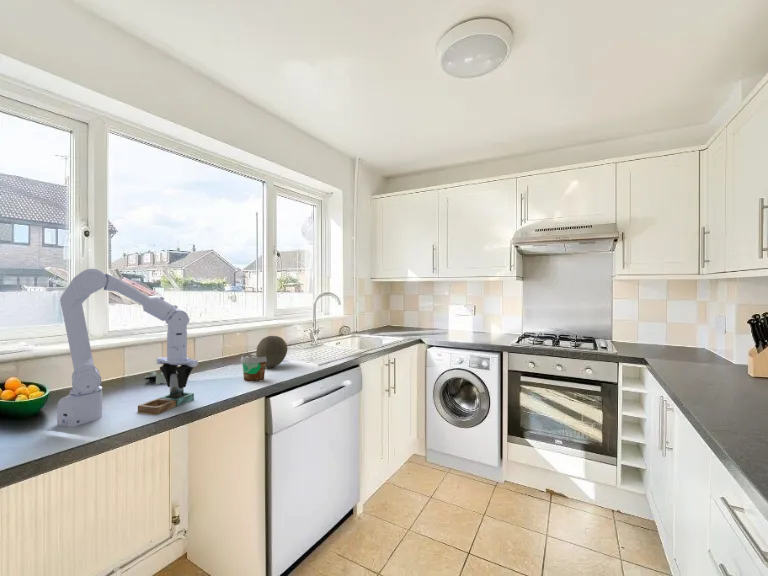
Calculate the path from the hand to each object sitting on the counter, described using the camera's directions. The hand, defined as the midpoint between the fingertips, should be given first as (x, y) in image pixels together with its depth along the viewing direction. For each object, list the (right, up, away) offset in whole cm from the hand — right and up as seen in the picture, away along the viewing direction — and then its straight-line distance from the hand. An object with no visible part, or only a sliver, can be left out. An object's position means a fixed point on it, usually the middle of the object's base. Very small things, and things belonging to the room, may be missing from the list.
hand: (176, 386), depth 118 cm
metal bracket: (-23, -6, +30) cm, 38 cm away
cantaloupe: (+14, -6, +54) cm, 56 cm away
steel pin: (0, -3, 0) cm, 3 cm away
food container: (+13, -6, +31) cm, 34 cm away
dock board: (-1, -6, -4) cm, 7 cm away
